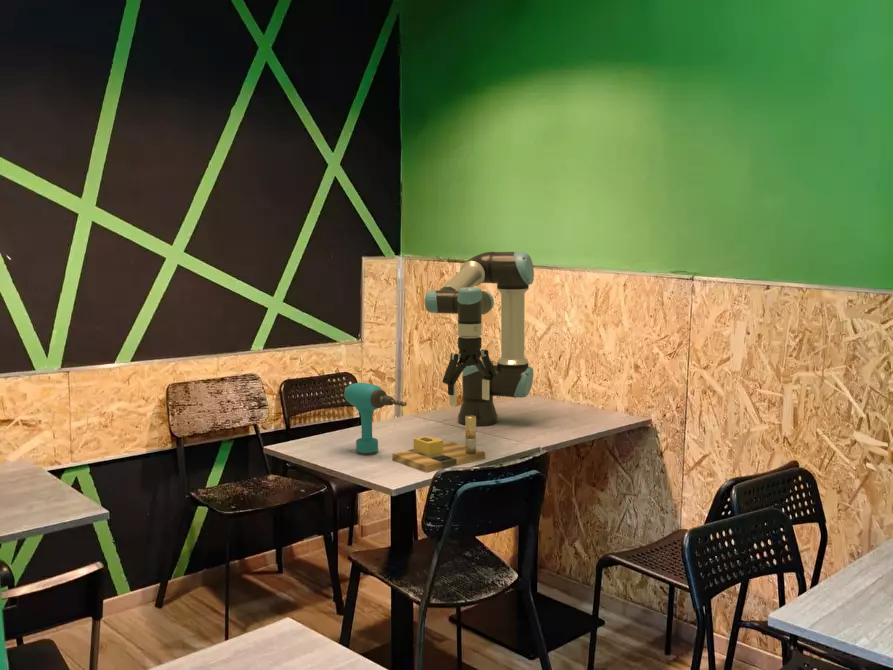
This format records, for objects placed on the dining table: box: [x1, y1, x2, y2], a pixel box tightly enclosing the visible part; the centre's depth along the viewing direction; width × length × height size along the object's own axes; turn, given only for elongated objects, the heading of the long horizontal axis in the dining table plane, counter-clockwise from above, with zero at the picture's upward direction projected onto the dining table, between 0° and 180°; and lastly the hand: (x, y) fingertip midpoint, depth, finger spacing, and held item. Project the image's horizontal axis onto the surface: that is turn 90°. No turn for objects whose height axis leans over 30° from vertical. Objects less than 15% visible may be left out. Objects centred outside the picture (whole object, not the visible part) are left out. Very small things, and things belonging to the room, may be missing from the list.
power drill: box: [343, 382, 408, 456], centre depth 277 cm, size 28×9×23 cm, turn 48°
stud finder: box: [413, 435, 444, 456], centre depth 276 cm, size 8×6×4 cm
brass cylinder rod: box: [464, 415, 477, 454], centre depth 273 cm, size 3×3×12 cm
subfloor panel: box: [391, 440, 486, 473], centre depth 274 cm, size 18×24×2 cm
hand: (469, 402), depth 272 cm, fingers open, 13 cm apart
